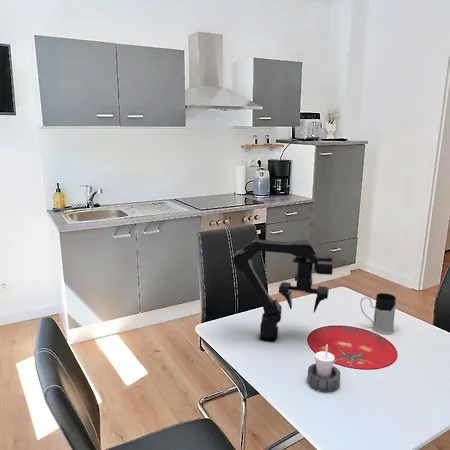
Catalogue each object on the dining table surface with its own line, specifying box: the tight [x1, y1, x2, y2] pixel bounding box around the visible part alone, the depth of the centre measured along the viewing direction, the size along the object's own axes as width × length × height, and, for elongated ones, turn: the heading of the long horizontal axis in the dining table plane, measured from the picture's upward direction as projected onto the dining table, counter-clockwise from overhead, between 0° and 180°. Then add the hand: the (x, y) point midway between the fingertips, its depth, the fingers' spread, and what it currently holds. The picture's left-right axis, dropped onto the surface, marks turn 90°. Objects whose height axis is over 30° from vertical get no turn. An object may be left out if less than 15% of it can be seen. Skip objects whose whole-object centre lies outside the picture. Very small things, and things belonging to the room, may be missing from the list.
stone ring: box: [306, 363, 341, 393], centre depth 135 cm, size 10×10×4 cm
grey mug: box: [360, 293, 397, 336], centre depth 171 cm, size 9×14×15 cm, turn 73°
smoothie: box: [314, 343, 335, 379], centre depth 134 cm, size 6×6×14 cm
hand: (302, 310), depth 160 cm, fingers open, 9 cm apart
